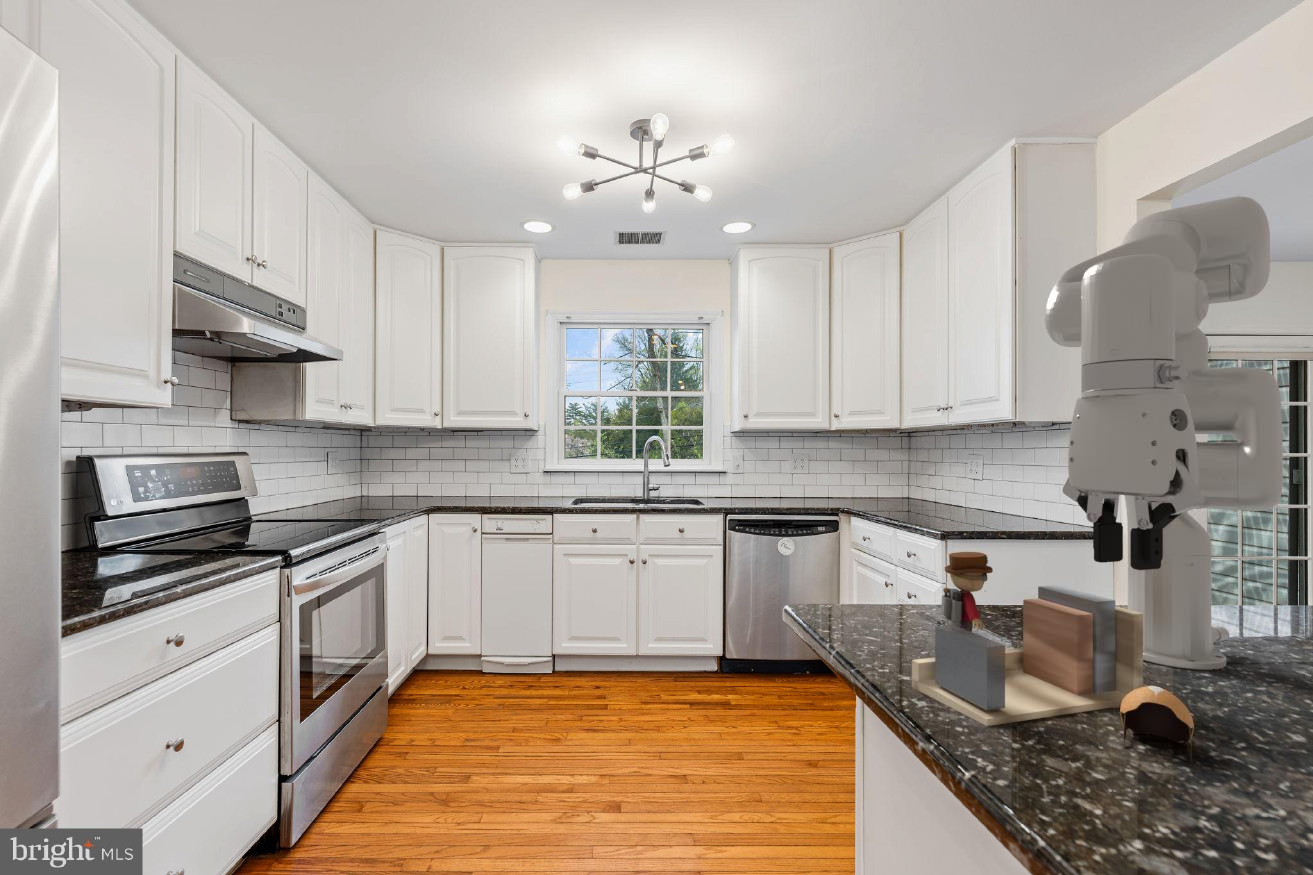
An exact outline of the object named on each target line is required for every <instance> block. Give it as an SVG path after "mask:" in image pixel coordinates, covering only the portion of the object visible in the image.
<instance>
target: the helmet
mask: <svg viewBox="0 0 1313 875" xmlns="http://www.w3.org/2000/svg"><path fill="white" fill-rule="evenodd" d="M1119 707H1120V710H1119V714H1120V720H1121V724H1122V726H1123V727H1122V728H1123V744H1124V745H1123V746H1124V748H1126V738H1127V731H1128V730H1129V732H1131V733H1133V734H1146V735H1153V736H1157V737H1161V736H1162V737H1163V738H1165V739H1168V738H1169V740H1171V741H1173V742H1174V743H1175V742H1176V743H1178V744H1179V743H1180V744H1181V743H1185V744H1186V749H1187V752H1188V754H1189V757H1190V763H1191V764H1192V763H1193V762H1192V757H1193V756H1192V753H1193V752H1192V749H1193V747H1192V745H1193V744H1192V738H1193V734H1194V731H1195V726H1194V719H1193V716H1192V714H1191V712H1190V711H1189V709H1188V708H1187V706H1186V704H1184V703H1183V702H1182V700H1180V699H1179V698H1178V697H1176V696H1175V695H1174V694H1172V693H1171V692H1169V691H1168V690H1166V689H1165V688H1162V687H1160V686H1155V685H1147V686H1143V687H1141V688H1138V689H1135V690H1133V691H1131V692H1130V693H1128V694H1127V695H1126V696H1125V697H1124V698H1123V700H1122V703H1121V706H1119Z"/></svg>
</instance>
